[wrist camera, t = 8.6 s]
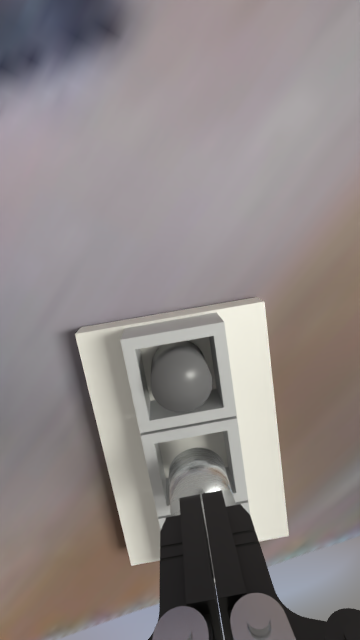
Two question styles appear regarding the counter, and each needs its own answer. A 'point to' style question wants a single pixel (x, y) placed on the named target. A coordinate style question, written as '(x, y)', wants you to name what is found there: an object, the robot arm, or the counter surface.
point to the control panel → (186, 415)
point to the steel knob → (197, 477)
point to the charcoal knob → (180, 377)
